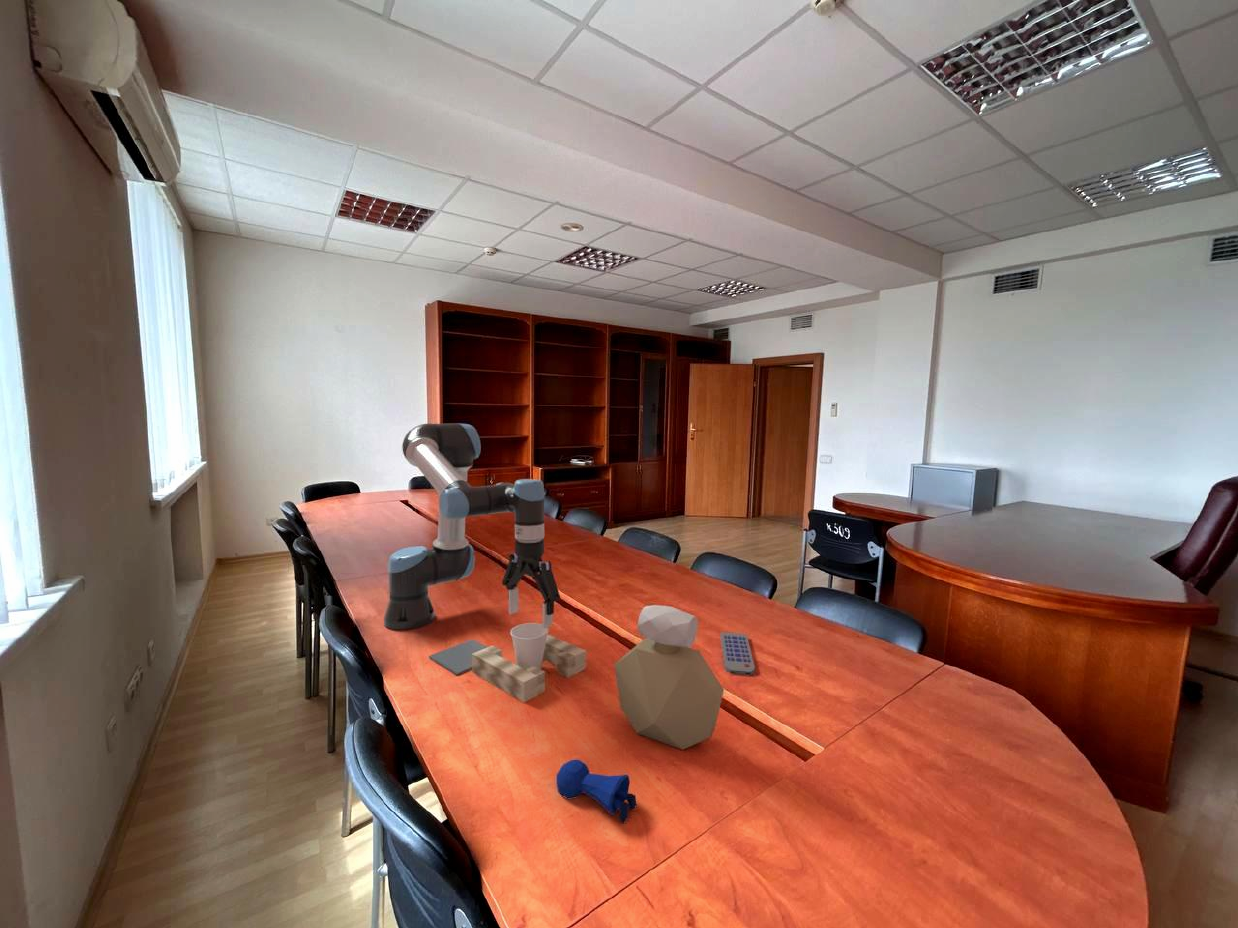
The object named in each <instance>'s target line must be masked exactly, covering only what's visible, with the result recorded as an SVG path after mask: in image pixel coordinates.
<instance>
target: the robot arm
mask: <svg viewBox="0 0 1238 928" xmlns="http://www.w3.org/2000/svg"><path fill="white" fill-rule="evenodd" d="M401 446H402V447H401V448H402V449H401V450H402V454H403V456H404V457H405V459H406V460H407V462H408V463H409V464H410V465H411V466H413V467H416V468H417V469H418V470H419V471H420V472H421V474H422V475H423V476H424V477H425V478H426V480H427V481H428V482H429V484H431V486H432V487H433V488H434V490H435V491H436V492H437V493H438V495H439V496H438V497H439V498H438V519H437V520H438V521H437V522H438V525H437V537H436V539H434V540H433V541H432V549H428V548H427V547H426V546H423V545H422V546H421V545H419V546H418V545H417V546H409V547H405V548H401V549H399V550H397V551H395V552H393V553H392V554H391V555H390V556H389V559H388V567H387V572H388V587H389V588H388V591H389V593H388V594H389V597H388V598H389V601H388V603H387V607H386V610H385V612H384V616H383V625H384V627H385V628H388V629H391V630H399V631H400V630H401V631H404V630H411V629H416V628H420V627H424V626H426V625H428V624H429V623H431V622H432V621H434V619H435V609H434V606H433V604H432V601H431V599H430V596H429V586H433V585H434V586H435V585H438V584H443V583H449V582H453V581H459V580H461V579H465V578H467V577H469V576H470V575H471V574H472V572H473V570H474V568H475V562H476V561H475V560H476V556H475V550H474V548H473V546H472V545H471V544H470V542H469V540H468V539H467V538H466V536H465V535H466V534H465V533H466V531H465V530H466V518H469V517H478V516H485V515H494V514H500V513H501V514H502V513H512V514H514V538H515V539H516V540H515V541H514V553H510V554H509V555H508V556H509V558H508V564H507V566H506V567H507V568H506V570H505V572H504V576H503V577H502V578H503V579H502V582H501V584H502V586H506V589H507V599H508V614H509V615H512V614H516V613H518V612H519V609H520V608H519V588H518V584H519V583H520V581H521V579H522V578H523V577H524V576H529V577H530V578H531V579H532V580H534V582H535V583H536V586H537V588H538V590H539V592H540V593H541V596H542V598H543V600H544V601H543V602H542V624H543V628H546V627H547V628H549V627H551V626H553V625H554V623H553V620H554V616H553V614H555V602H556V601H559V600H561V594H560V591H559V589H558V586H557V583H556V580H555V577H554V573H553V570H552V569H553V568H552V562H551V561H550V560H549V561H548V560H547V561H543V558H542V557H543V555H544V554H545V540H544V538H545V497H546V495H545V489H544V486H545V485H544V482H543V481H542V480H541V479H536V478H535V479H532V478H525V479H524V478H522V479H521V478H520V479H517V480H515V482H514V484H513V483H510V482H499V483H496V484H491V485H481V486H472V485H471V484H470V483H469V482H468V471H469V469H471V468H473V462H474V460H476V459H478V458H479V456H480V454H481V451H482V450H481V447H482V446H481V439H480V437H479V434H478V432H477V429H475V427H474V426H473V425H471V424H468V423H450V422H449V423H423V424H419V425H417V426H415V427H413V428H412V429H410V430H409V431H408V432H407V433H406V435H405V437H404V438H403V441H402V445H401Z"/></svg>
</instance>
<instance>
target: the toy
mask: <svg viewBox="0 0 1238 928" xmlns="http://www.w3.org/2000/svg"><path fill="white" fill-rule="evenodd" d="M630 784H631V782H630V777H629V775H628V774H620V775H619V774H618V775H617V774H616V775H603V774H597V773H590V769H589V767H588V765H587V764H586V763H585V762H583V760H580V759H577V758H576V759H571V760H568V761H567V762H565V763H563V764H562V765H561V767H560V769H559V771H558V772H557V774H556V787H557V791H558V793H559V794H560V795H561V796H562V797H563V796H565V797H567V798H566V799H568V798H573V799H575V798H574V797H576V798H577V796H578V797H579V796H580V795H581V794H583V793H584V794H586V795H588V796H589V797H591V798H592V799H594V800H595V801H596V802H597V803H599V804H600V805H601V806H603V808H604V809H605V810H606V811H607V812H608V813H609V814H610V815H613V814H615V813H618V810H619V818H620V822H621V823H622V824H625V823H626V821H627V820H628V815H629V810H630V809H634V808H635V809H636V807H637V804H638V803H637V797H636V795H635V794H633V793H629V788H630ZM565 797H564V798H565ZM626 801H627V802H626ZM635 806H636V807H635ZM635 809H634V810H635ZM626 819H627V820H626ZM624 822H625V823H624Z"/></svg>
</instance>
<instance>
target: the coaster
mask: <svg viewBox="0 0 1238 928" xmlns="http://www.w3.org/2000/svg"><path fill="white" fill-rule="evenodd" d="M487 647H488V646H487V645H485V644H483V643H482V642H479V641H477V640H475V639H473V638H471V639H469V640H466V641H464V642H461V643H459V644H456V645H453V646H451V647H448V648H446V649H443V650H441V651H438V652H435V653H433V654H429V655H428V658H429V659H430V660H431V661H433V662H434V663H436V664H438V665H440V666H441V667H443V668H444V669H446V670H447V671H449V672H451V673H452V674H454V675H456V676H460V675H461V674H464V673H466V672H468V671H470V670H471V671H472V654H473V653H475V652H478V651H480V650H483V649H485V648H487Z"/></svg>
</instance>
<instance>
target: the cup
mask: <svg viewBox="0 0 1238 928" xmlns="http://www.w3.org/2000/svg"><path fill="white" fill-rule="evenodd" d="M548 633H549V627H546V628H543V623H538V622H526V623H521V624H518V625H516V626H513V627H512V628H511V629H510V636H511V639H512V640H511V641H512V646H513V650H514V656H515V662H516V665H518V666H519V667H521V668H523V669H525V670H527V669H529V668H531V667H534V666H535V667H537V668H539V669H541V670H542V667H543V662H544V659H543V655H544V649H545V644H546V638H547V634H548Z"/></svg>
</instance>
